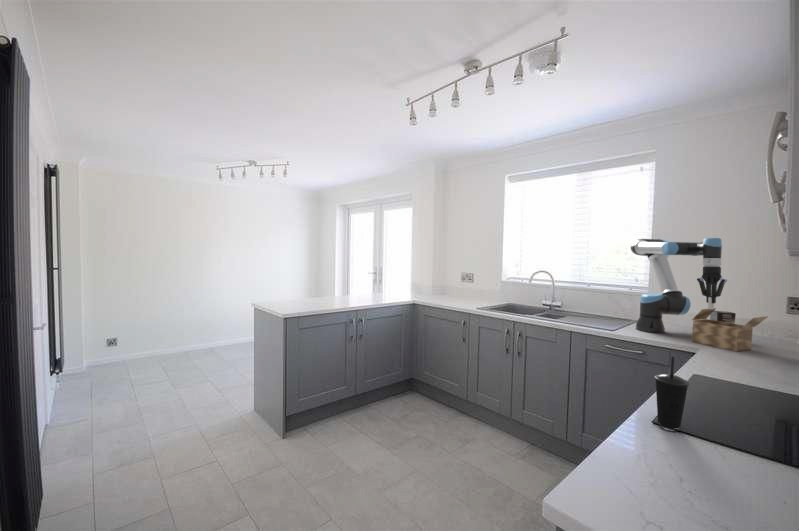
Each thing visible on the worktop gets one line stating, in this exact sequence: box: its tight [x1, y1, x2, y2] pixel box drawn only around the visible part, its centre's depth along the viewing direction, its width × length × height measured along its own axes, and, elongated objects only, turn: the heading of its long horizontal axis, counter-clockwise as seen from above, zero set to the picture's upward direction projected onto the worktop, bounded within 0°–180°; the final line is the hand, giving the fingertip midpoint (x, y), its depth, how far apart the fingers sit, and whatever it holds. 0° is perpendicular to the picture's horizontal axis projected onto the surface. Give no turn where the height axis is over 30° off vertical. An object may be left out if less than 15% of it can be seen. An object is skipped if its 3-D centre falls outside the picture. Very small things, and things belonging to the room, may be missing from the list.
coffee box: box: [709, 310, 736, 324], centre depth 205 cm, size 9×6×16 cm
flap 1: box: [691, 307, 717, 321], centre depth 197 cm, size 8×13×1 cm
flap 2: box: [740, 315, 769, 329], centre depth 178 cm, size 8×13×1 cm
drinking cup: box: [654, 356, 690, 428], centre depth 98 cm, size 8×8×20 cm
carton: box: [691, 318, 754, 353], centre depth 190 cm, size 20×13×12 cm, turn 23°
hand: (710, 309), depth 195 cm, fingers closed
